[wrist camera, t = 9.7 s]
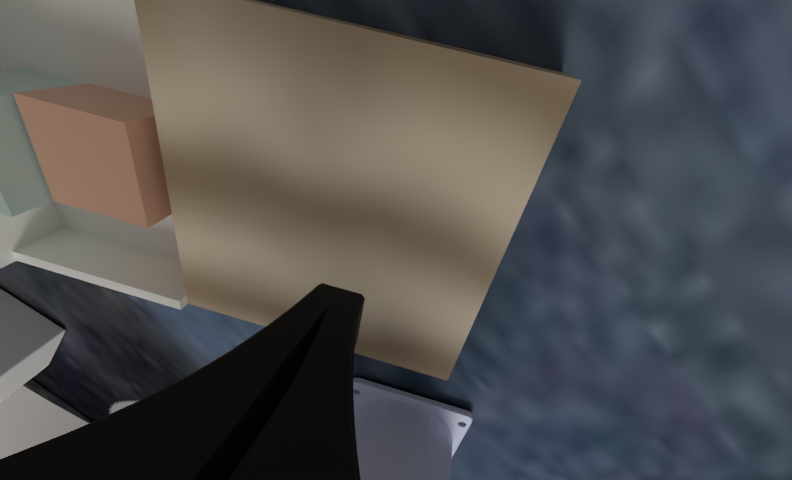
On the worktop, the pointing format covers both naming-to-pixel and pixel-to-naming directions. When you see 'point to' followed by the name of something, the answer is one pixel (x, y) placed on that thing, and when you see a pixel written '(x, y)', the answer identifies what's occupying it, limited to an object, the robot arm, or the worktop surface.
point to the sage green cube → (21, 144)
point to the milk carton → (23, 343)
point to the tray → (66, 225)
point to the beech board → (343, 166)
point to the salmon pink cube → (98, 150)
